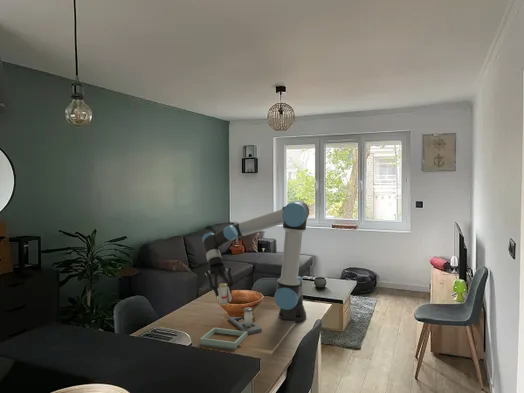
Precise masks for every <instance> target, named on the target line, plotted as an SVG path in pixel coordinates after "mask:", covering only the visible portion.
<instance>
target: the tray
mask: <svg viewBox="0 0 524 393" xmlns="http://www.w3.org/2000/svg"><path fill="white" fill-rule="evenodd" d="M216 333H217V334H223V335H231V336H238V338H237V339H236V340H235V341H228V340H221V339H215V338H213V339H212V338H210V337H212V336H213V335H214V334H216ZM248 335H249V334H248V332H247V331H242V330H240V329H239V330H237V329H229V328H221V327H213V328H212V329H210V331H208V332H206V333H205V334H204V335H203V336H201V337H200V338H199V341H200V343H199V344H200V346H206V347H214V348H220V349H228V350H233V351H237V349H238V348H239V347H240V344H241V343H242V342H243V341H244V340H245V339H246V338H247V337H248Z"/></svg>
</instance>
